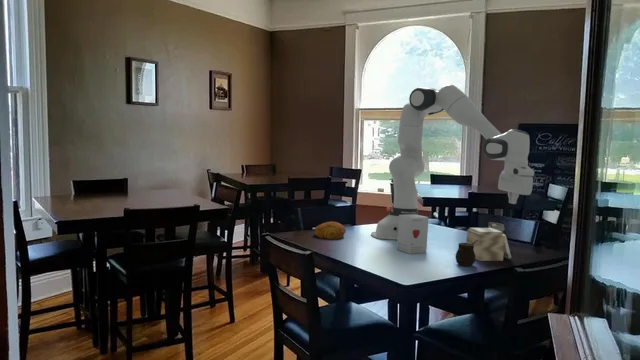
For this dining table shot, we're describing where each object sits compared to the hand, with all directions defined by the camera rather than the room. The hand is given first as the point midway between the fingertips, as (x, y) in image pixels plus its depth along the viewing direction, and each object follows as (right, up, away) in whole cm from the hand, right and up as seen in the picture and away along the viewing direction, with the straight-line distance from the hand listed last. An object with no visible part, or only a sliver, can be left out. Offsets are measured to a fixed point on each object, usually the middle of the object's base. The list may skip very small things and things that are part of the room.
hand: (512, 203), depth 205 cm
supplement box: (-41, -20, +4) cm, 45 cm away
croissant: (-74, -17, +30) cm, 82 cm away
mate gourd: (-24, -23, -17) cm, 37 cm away
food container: (+1, -21, +22) cm, 30 cm away
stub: (-6, -17, -1) cm, 18 cm away
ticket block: (-12, -22, -2) cm, 25 cm away
